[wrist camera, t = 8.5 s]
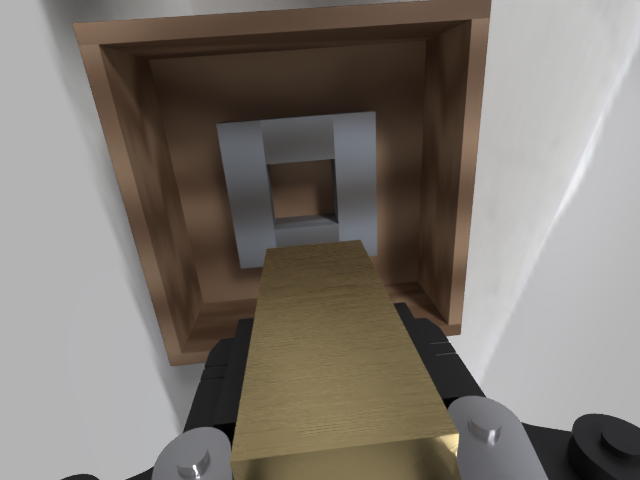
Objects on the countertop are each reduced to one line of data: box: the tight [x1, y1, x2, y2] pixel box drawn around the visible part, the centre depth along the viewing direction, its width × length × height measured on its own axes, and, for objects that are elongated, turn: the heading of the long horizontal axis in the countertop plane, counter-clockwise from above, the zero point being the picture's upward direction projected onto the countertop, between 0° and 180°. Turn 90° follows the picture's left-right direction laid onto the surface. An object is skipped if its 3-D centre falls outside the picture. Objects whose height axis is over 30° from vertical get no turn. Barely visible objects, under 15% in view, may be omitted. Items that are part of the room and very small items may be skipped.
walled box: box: [72, 0, 491, 366], centre depth 26 cm, size 22×22×8 cm
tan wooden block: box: [230, 240, 459, 480], centre depth 9 cm, size 3×3×8 cm
